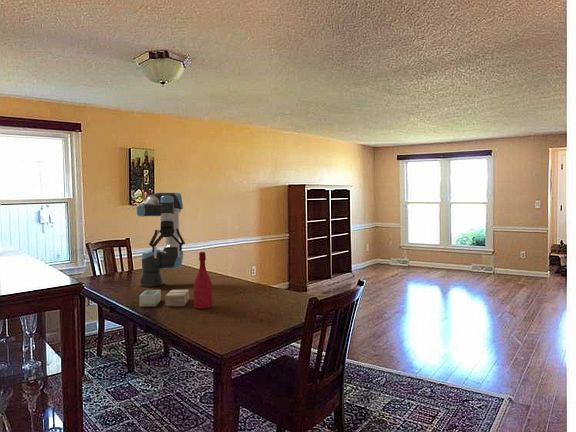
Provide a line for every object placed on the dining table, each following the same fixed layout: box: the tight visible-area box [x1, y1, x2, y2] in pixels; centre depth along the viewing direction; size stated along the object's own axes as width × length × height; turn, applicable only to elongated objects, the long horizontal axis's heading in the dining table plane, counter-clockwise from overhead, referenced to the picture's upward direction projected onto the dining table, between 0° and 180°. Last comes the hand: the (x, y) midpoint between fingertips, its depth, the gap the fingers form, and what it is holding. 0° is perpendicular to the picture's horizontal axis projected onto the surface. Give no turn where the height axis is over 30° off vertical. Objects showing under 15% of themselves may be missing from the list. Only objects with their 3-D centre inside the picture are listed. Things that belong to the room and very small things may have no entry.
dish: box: [138, 289, 162, 307], centre depth 238 cm, size 13×8×6 cm, turn 4°
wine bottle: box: [193, 251, 213, 310], centre depth 229 cm, size 10×10×30 cm
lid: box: [164, 288, 190, 307], centre depth 240 cm, size 15×10×6 cm, turn 2°
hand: (167, 257), depth 248 cm, fingers open, 13 cm apart
